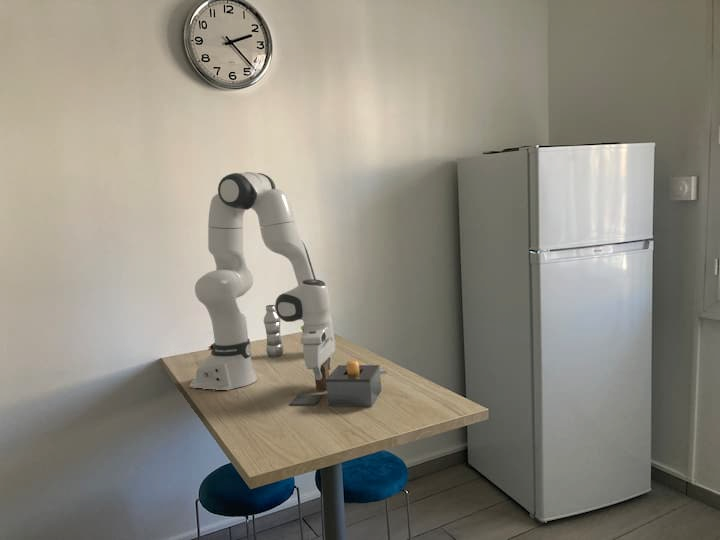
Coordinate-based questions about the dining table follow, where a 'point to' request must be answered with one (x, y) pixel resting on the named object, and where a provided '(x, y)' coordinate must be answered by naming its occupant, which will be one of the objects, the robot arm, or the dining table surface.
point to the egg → (353, 367)
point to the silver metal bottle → (273, 332)
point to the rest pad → (306, 399)
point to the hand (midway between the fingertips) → (323, 374)
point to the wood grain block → (322, 383)
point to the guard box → (354, 386)
